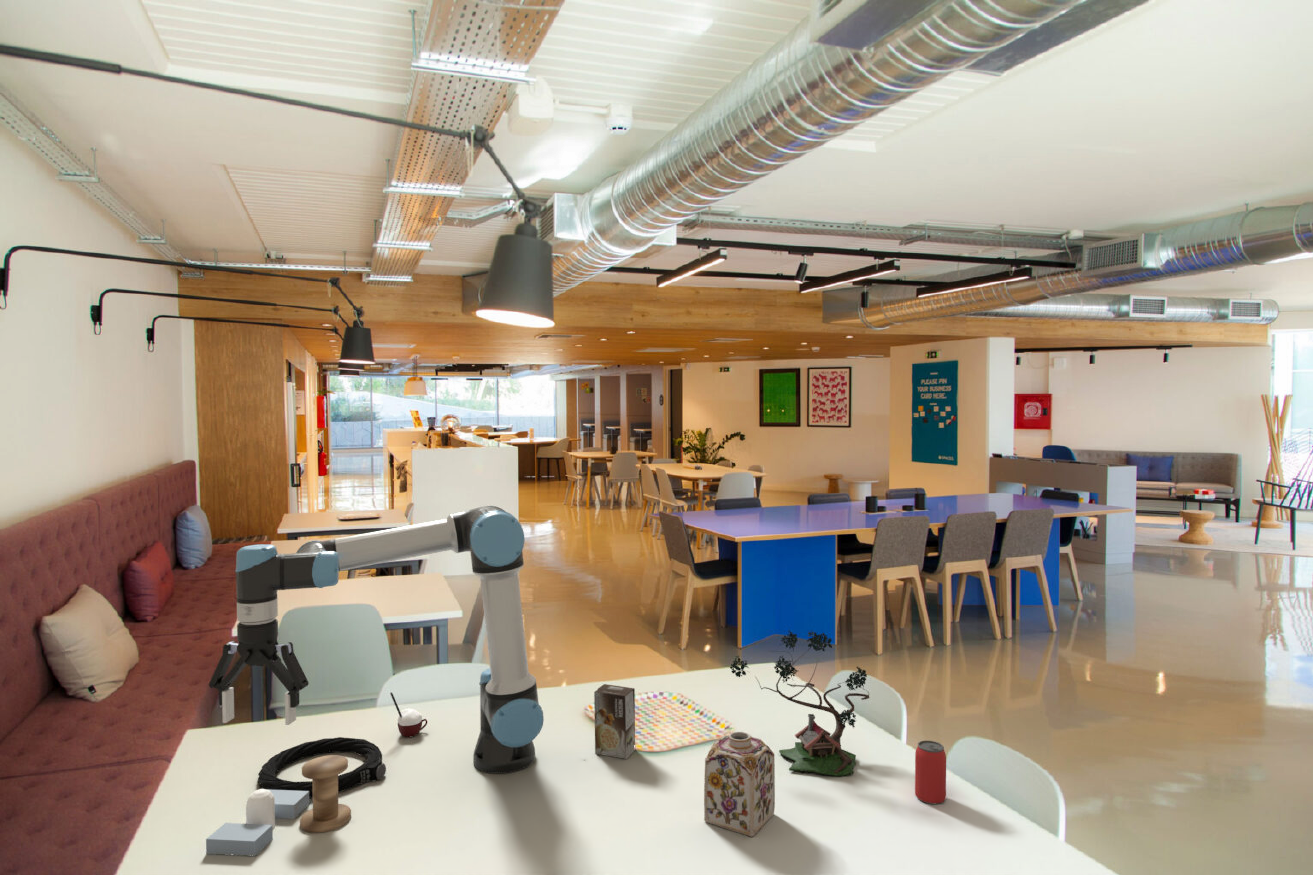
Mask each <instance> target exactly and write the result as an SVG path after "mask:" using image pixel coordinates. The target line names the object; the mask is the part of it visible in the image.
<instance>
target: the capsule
mask: <svg viewBox="0 0 1313 875" xmlns="http://www.w3.org/2000/svg"><path fill="white" fill-rule="evenodd" d="M246 799H247V800H246V805H245V806H246V807H245V815H246V816H245V817H246V819H245V822H246V823H245V824H264V825H272V829H274V828H275V827H276V826H275V825H276V818H275V799H274V795H273V794H272V793H271V792H270V791H269V790H266V789H263V788H260V789H256V790H254V791H253V792H252V793H251V794H250V795H249V796H248V797H247V798H246Z"/></svg>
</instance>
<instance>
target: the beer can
mask: <svg viewBox="0 0 1313 875" xmlns="http://www.w3.org/2000/svg"><path fill="white" fill-rule="evenodd" d="M914 756H915V758H914V759H915V762H914V764H915V766H914V767H915V770H914V795H915V797H916V798H917V799H918V800H919V801H921V802H923V803H926V804H931V805H939V804H943V803H944V802H945V801H946V799H947V755H946V751H945V748H944V745H943V744H941V743H940V742H937V741H934V740H921V741H918V743H917V746H916V749H915V753H914Z"/></svg>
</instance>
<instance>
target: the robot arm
mask: <svg viewBox="0 0 1313 875" xmlns="http://www.w3.org/2000/svg"><path fill="white" fill-rule="evenodd" d="M524 547H525V532H524V528H523V526H522V525H521V522H520V521H519V520H518V519H517V518H516V517H515V516H514V515H513V514H511V513H509V512H507V511H505V510H504V509H503V508H501V507H498V506H495V505H483V506H480V507H479V506H478V507H476V508H473V509H467V510H463V511H459V512H455V513H450V514H448V516H447V517H446V518H444V519H439V520H434V521H428V522H421V523H416V524H411V525H406V526H398V527H394V528H387V529H383V530H377V531H372V532H366V533H362V534H356V535H351V536H350V535H349V536H343V537H339V538H334V539H328V540H323V541H321V540H316V539H315V540H310V541H307V542H305V543H304V544H302V545H301V546H300V547H299V548H298V549H297V551H296V552H295V553H294V552H293V553H279V552H278V551H277V547H276V545H273V544H270V543H269V544H267V543H266V544H264V543H263V544H251V545H247V546H243V547H242V546H241V547H240V548H239V549H238V550H237V552H236V558H235V560H236V561H235V563H236V566H235V569H234V570H235V571H234V572H235V582H236V584H235V585H236V586H235V587H236V590H235V591H236V619H237V621H238V624H237V625H236V634H237V635H236V636H237V637H236V638H237V641H238V643H237V642H236V641H234V640H231V641H229V642H227V643H225V644H223V646H222V655H221V658H220V659H219V662H218V663H217V666H216V667H215V670H214V672H213V675H212V677H211V679H210V681H209V683H208V687H209V688H211V689H212V688H213V689H216V690H217V691H218V704H219V706H222V713H221V714H222V715H221V716H222V724H227V723H228V722H230V721H231V720H233V719H235V694H234V692H235V691H234V690H235V686H234V687H233V686H232V684H233V682H234V681H235V680H236V679H237V677H238V676H239V675H240V673H241V672H243V670H244V669H245V667H247V665H248V667H253V666H257V667H264V666H265V667H266V668H267V669H269V670H271V672H272V673H273V674H274V675H275V677H276V679H278V680H279V681H280V683H281V684H282V685H283V687H284V688H285V689H286V690H287V691H286V692H284V712H285V713H284V716H285V718H284V721H285V725H286V726H288V725H289V726H290V725H291V724H292V723H293V722H295V721H297V707H298V706H299V705H300V691H302V690H304V689H305V688H306V687H307V686H309V680H308V678H307V677H306V673H305V672H304V670H303V668H302V667H301V664H300V662H299V661H298V658H297V656H296V654H295V650H294V644H293V642H287V643H283V644H279V642H278V637H279V621H278V619H277V617H278V616H279V613H278V612H279V611H278V610H279V609H278V608H279V605H278V591H286V590H288V591H289V590H299V589H302V590H303V589H314V588H315V589H317V588H318V589H323V588H326V587H333V586H334V587H335V586H336V585H337V584H338V583H339V577H340V575H339V574H340V572H343V571H348V570H353V569H357V568H364V567H368V566H372V565H378V564H383V563H389V562H394V561H395V562H396V561H400V560H405V559H406V560H407V559H410V558H416V557H422V556H426V555H427V556H428V555H431V554H436V553H437V554H438V553H441V552H443V553H444V552H447V551H453V552H454V553H455V554H459V553H464V552H470V559H471V560H470V561H471V569H472V573H473V574H474V575H476V576H477V577H478V578H479V579H480V581H479V582H480V588H481V598H482V606H483V615H484V616H483V617H484V625H485V634H486V635H485V636H486V643H487V652H488V661H489V668H488V669H485V670H483V671H481V673H480V678H479V679H480V681H479V691H480V694H479V695H480V696H479V697H480V698H479V700H480V701H479V702H480V703H479V704H480V705H479V709H480V712H479V714H480V715H479V716H480V717H479V718H480V723H479V724H480V725H479V726H480V728H479V729H480V731H479V735H478V738H477V741H476V744H475V748H474V751H473V755H472V756H473V757H472V758H473V760H472V761H473V766H474V767H475V768H476V770H477V769H478V770H480V771H482V772H484V773H491V774H506V773H512V772H513V773H514V772H517V771H520V770H523V769H525V768H527V767H529V766H530V765H531V764H532V763H533V762H534V761H535V760H536V759H535V758H536V748H535V745H534V740H535V739H536V738H537V736H538V735H539V734H540V732H541V731H542V729H543V726H544V720H545V719H544V712H543V709H542V707H541V705H540V703H539V696H538V687H537V678H536V677H535V676H534V675H532V674H531V673H530V672H529V665H528V654H527V647H526V646H527V644H526V637H525V635H526V634H525V625H524V618H523V616H524V615H523V608H522V599H521V589H520V580H519V579H520V578H519V573H520V571H521V570H522V568H523V567H524V555H523V549H524ZM278 652H279V653H278ZM235 653H238V654H239V656H240V657H239V658H238V660H237V661H236V662H235V663H234V666H232V668H231V670H230V671H229V672H228V673H227V671H228V670H229V667H230V664H231V662H232V661H233V658H234V656H235ZM278 654H279V655H278ZM281 657H282V659H281ZM282 661H283V662H282Z"/></svg>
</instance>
